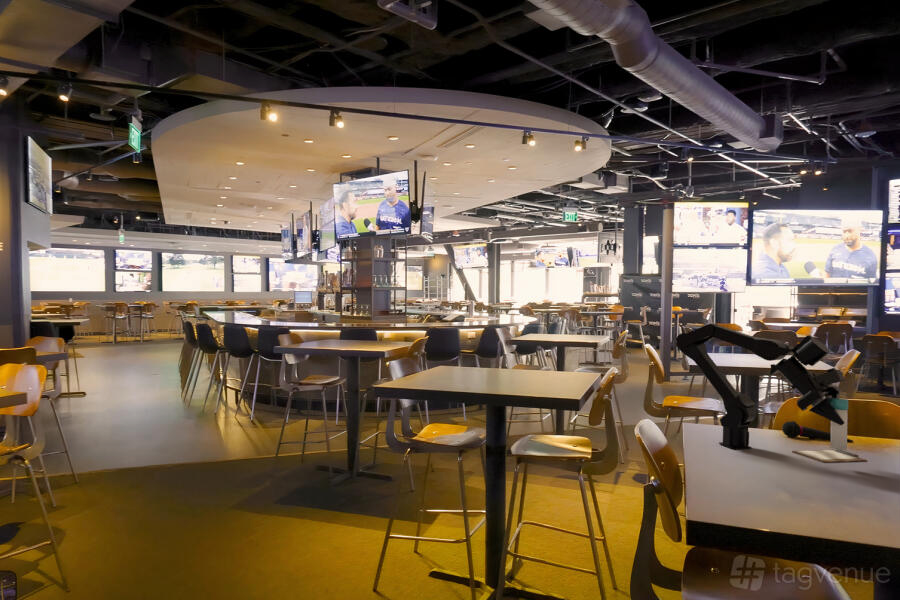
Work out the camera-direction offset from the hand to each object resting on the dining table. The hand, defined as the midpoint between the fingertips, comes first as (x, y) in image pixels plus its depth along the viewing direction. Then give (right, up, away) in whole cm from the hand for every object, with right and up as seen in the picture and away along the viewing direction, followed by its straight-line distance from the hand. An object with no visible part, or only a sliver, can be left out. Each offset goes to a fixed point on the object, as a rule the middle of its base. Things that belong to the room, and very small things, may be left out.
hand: (845, 423), depth 150 cm
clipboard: (+4, -12, +12) cm, 18 cm away
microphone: (+14, -13, +34) cm, 39 cm away
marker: (-1, -7, +1) cm, 7 cm away
